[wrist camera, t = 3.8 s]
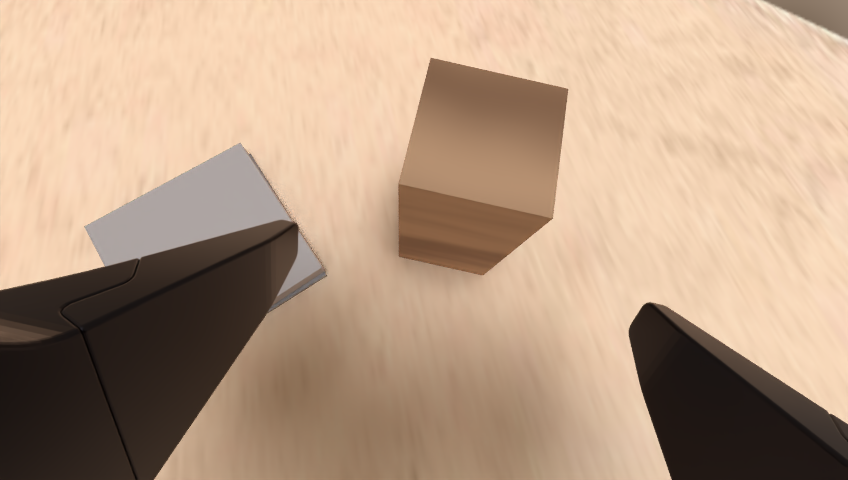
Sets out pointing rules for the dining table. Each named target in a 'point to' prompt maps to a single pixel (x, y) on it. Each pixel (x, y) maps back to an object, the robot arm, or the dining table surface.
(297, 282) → the upper grey slab
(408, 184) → the walnut post
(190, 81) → the dining table surface
